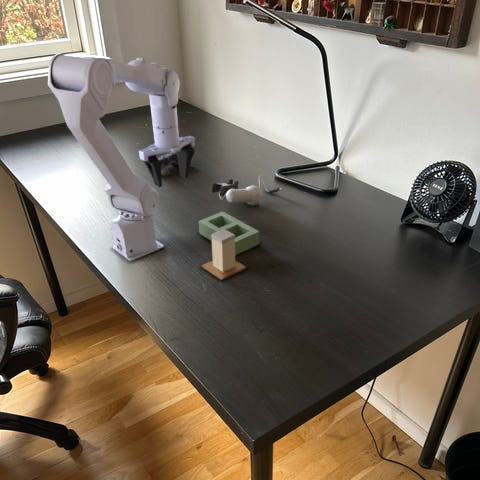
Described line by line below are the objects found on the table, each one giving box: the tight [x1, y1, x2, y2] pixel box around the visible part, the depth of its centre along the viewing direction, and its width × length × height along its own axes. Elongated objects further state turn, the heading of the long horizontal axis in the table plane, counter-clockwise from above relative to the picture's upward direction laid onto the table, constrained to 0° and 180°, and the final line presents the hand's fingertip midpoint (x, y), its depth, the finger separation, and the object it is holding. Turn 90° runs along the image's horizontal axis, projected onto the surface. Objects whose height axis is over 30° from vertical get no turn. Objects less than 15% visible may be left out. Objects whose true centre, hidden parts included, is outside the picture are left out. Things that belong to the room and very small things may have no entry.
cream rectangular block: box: [211, 229, 236, 272], centre depth 107 cm, size 4×4×8 cm
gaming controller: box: [157, 152, 179, 177], centre depth 152 cm, size 12×8×5 cm, turn 143°
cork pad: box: [201, 259, 247, 281], centre depth 110 cm, size 7×7×1 cm
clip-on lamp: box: [210, 174, 283, 206], centre depth 135 cm, size 12×6×18 cm
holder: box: [198, 211, 260, 256], centre depth 119 cm, size 8×14×4 cm, turn 41°
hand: (171, 181), depth 121 cm, fingers open, 7 cm apart
